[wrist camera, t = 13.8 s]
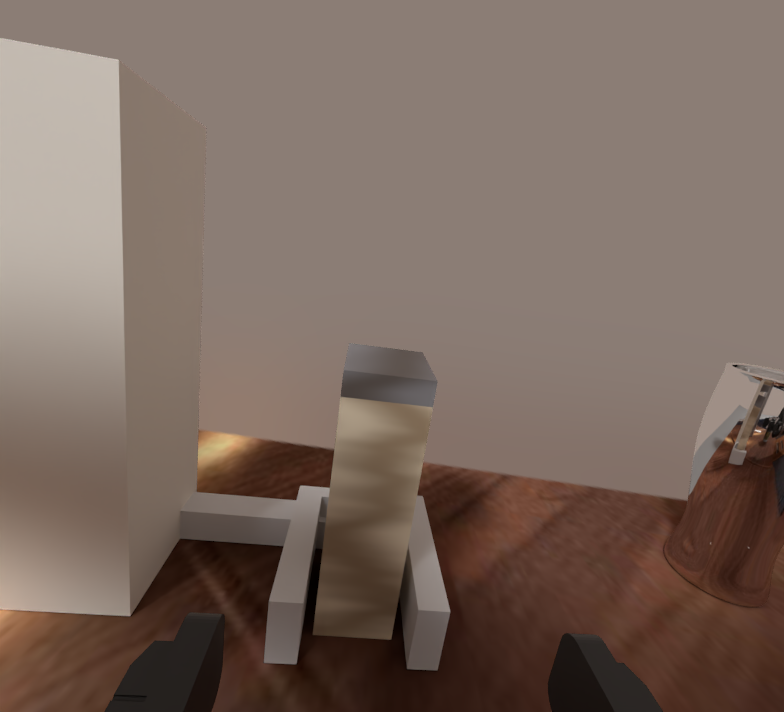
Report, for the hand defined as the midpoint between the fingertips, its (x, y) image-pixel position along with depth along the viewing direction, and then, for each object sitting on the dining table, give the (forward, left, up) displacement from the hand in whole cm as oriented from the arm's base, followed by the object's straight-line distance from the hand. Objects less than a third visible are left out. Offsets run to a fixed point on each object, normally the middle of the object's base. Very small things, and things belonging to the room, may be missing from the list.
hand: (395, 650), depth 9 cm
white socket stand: (-6, +12, -10) cm, 17 cm away
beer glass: (+26, +15, -10) cm, 32 cm away
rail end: (0, +11, -10) cm, 15 cm away
